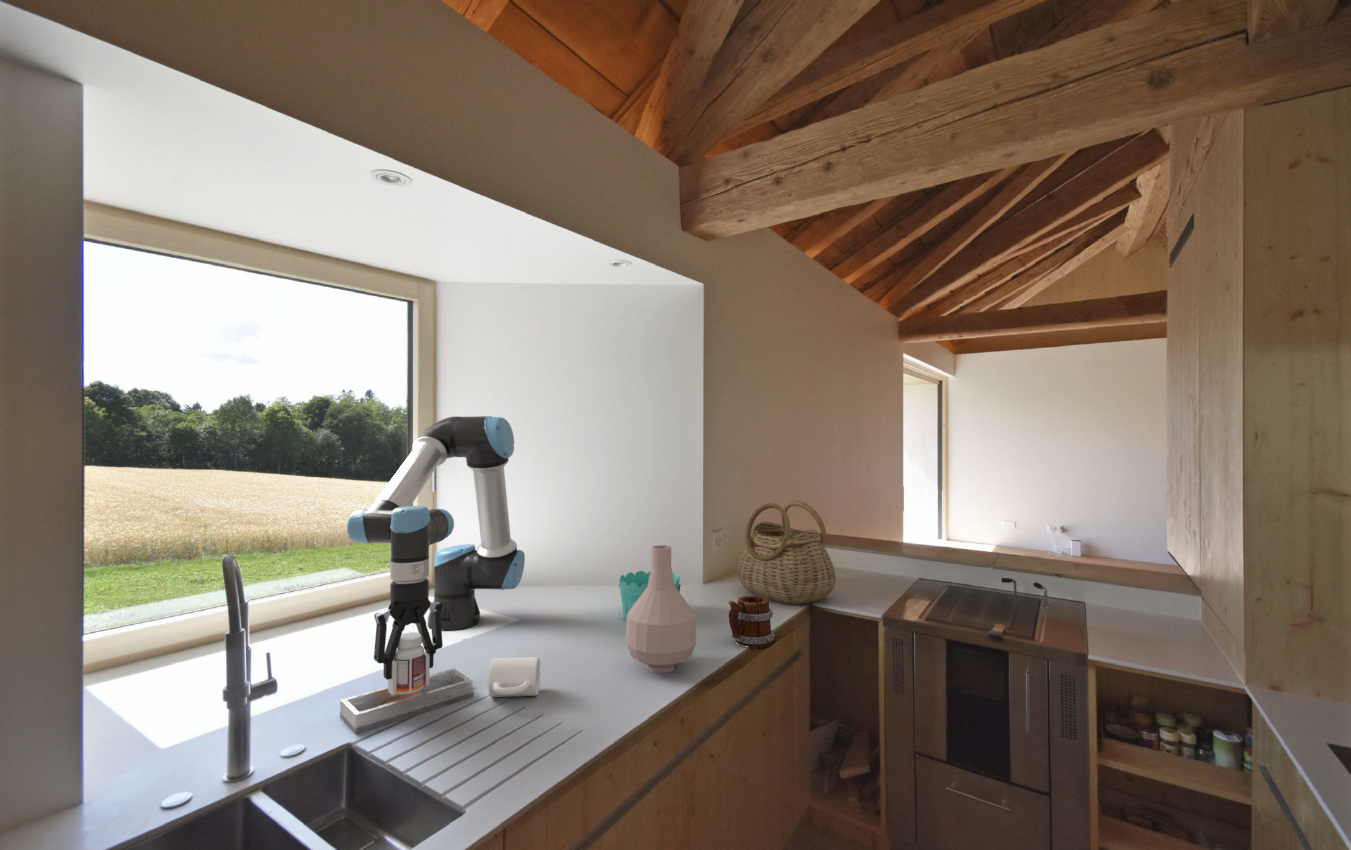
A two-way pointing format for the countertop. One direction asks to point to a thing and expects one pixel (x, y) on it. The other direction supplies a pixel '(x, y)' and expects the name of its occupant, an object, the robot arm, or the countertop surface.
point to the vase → (661, 619)
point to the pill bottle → (410, 663)
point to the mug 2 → (751, 621)
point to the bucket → (636, 588)
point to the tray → (404, 701)
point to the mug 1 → (514, 677)
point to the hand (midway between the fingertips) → (408, 688)
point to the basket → (786, 559)
